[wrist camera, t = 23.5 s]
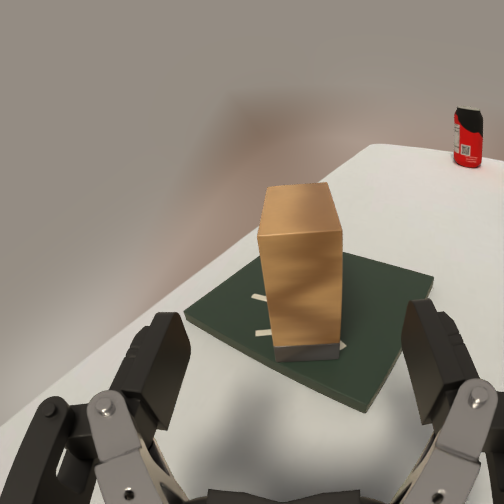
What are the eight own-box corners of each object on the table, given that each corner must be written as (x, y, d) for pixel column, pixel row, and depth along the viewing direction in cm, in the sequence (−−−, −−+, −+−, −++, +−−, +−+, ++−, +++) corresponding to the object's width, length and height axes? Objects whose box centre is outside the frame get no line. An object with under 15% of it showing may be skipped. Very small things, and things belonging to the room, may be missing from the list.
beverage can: (478, 171, 49) (480, 110, 43) (450, 164, 53) (451, 105, 47) (483, 164, 52) (484, 109, 46) (457, 158, 56) (457, 104, 50)
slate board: (186, 320, 26) (182, 310, 25) (286, 244, 34) (285, 236, 34) (365, 414, 16) (367, 405, 15) (432, 286, 24) (434, 276, 24)
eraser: (275, 362, 19) (256, 235, 15) (280, 294, 25) (267, 186, 21) (339, 359, 19) (342, 229, 14) (330, 292, 25) (327, 181, 20)
